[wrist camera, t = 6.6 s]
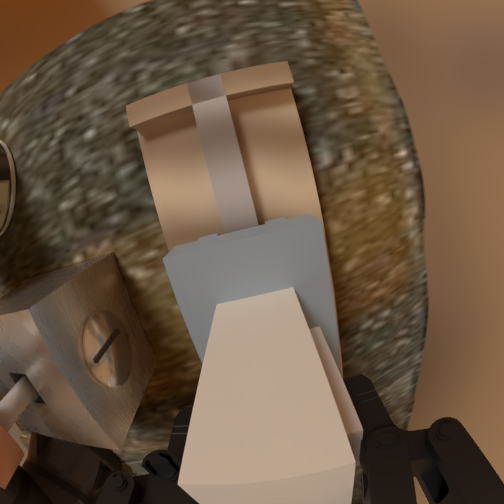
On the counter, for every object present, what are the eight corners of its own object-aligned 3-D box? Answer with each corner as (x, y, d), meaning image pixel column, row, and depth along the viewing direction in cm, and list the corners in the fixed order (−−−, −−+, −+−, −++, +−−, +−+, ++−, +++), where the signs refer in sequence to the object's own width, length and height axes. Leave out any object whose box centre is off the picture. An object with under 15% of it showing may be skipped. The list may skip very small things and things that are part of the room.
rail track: (342, 439, 25) (348, 456, 23) (258, 457, 26) (259, 474, 23) (282, 75, 16) (287, 60, 13) (141, 113, 16) (125, 105, 14)
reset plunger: (69, 409, 12) (18, 499, 4) (33, 403, 12) (-16, 474, 5) (32, 352, 11) (-43, 439, 3) (0, 353, 11) (-64, 419, 3)
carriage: (331, 367, 19) (387, 520, 6) (230, 388, 20) (220, 547, 7) (306, 211, 16) (465, 323, 3) (178, 242, 17) (40, 396, 4)
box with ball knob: (164, 360, 21) (128, 451, 12) (77, 366, 22) (30, 431, 12) (119, 250, 19) (34, 307, 9) (34, 276, 19) (-38, 323, 10)
